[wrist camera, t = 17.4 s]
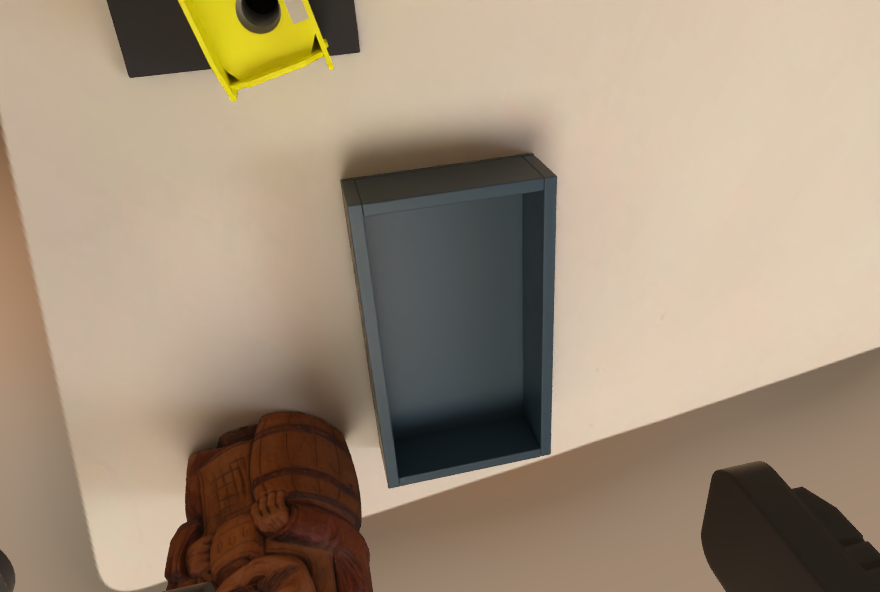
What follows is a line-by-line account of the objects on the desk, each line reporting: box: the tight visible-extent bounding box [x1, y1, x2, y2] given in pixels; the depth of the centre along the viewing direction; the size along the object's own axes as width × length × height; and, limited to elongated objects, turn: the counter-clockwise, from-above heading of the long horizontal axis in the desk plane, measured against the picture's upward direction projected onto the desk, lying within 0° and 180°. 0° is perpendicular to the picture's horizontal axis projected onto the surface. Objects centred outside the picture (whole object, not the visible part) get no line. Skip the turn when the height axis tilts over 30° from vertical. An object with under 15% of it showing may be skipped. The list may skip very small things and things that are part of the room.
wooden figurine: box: [165, 412, 373, 592], centre depth 42 cm, size 12×6×18 cm, turn 109°
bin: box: [340, 153, 557, 488], centre depth 45 cm, size 12×22×4 cm, turn 4°
